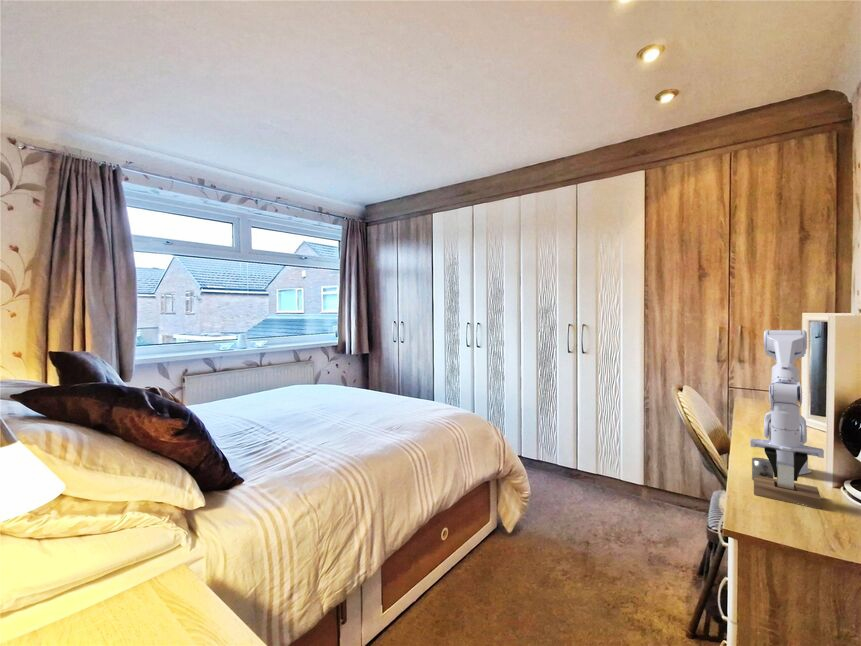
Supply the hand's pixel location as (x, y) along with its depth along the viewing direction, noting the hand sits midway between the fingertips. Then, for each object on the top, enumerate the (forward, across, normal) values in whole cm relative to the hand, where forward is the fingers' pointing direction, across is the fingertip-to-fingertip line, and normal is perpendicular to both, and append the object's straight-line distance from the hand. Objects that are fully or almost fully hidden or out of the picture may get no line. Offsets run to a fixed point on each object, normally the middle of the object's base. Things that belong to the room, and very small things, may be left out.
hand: (785, 478), depth 104 cm
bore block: (+5, 0, 0) cm, 5 cm away
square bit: (+2, 0, 0) cm, 2 cm away
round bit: (+5, -4, +8) cm, 11 cm away
